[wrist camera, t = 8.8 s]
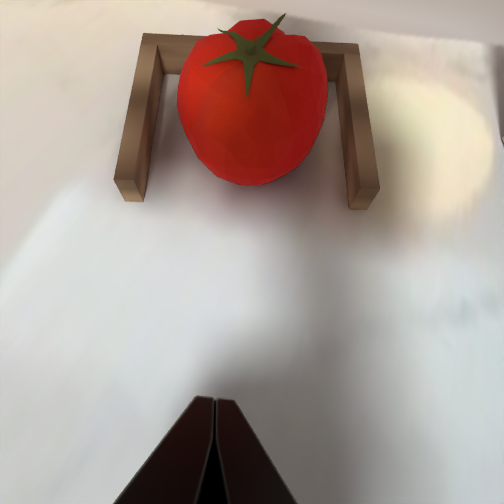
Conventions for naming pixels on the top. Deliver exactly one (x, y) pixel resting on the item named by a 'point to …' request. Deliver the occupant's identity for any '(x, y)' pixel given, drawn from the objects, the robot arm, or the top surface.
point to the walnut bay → (171, 62)
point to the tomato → (252, 101)
